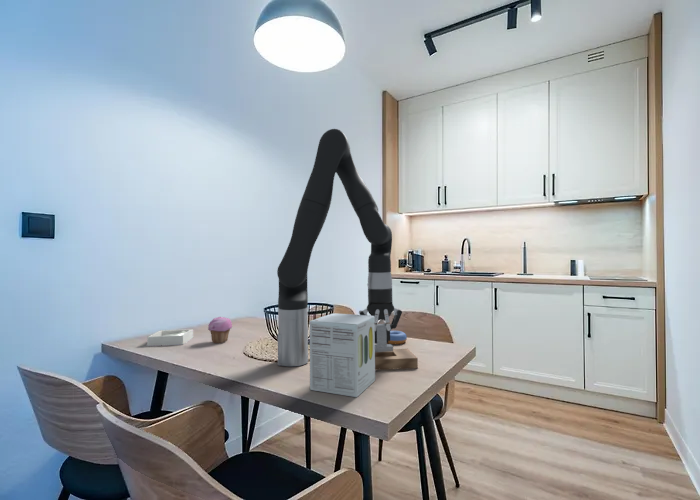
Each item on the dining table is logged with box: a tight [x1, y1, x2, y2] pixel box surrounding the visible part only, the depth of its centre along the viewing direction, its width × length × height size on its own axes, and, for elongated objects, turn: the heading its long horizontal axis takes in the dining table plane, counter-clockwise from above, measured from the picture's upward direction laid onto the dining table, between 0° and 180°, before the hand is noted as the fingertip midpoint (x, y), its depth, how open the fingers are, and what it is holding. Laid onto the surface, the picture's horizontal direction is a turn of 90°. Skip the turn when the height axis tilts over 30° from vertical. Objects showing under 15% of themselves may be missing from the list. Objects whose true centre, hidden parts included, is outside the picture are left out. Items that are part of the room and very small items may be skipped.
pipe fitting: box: [165, 331, 186, 336], centre depth 145 cm, size 8×4×7 cm
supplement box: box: [309, 312, 376, 398], centre depth 95 cm, size 13×13×18 cm
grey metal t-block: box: [375, 323, 394, 352], centre depth 113 cm, size 7×3×8 cm, turn 97°
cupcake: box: [207, 316, 233, 344], centre depth 143 cm, size 9×9×10 cm
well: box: [375, 348, 419, 371], centre depth 112 cm, size 20×11×3 cm, turn 96°
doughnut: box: [387, 330, 408, 345], centre depth 141 cm, size 10×10×5 cm
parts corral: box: [146, 328, 194, 347], centre depth 145 cm, size 13×12×4 cm
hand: (381, 342), depth 113 cm, fingers closed on grey metal t-block, 3 cm apart
